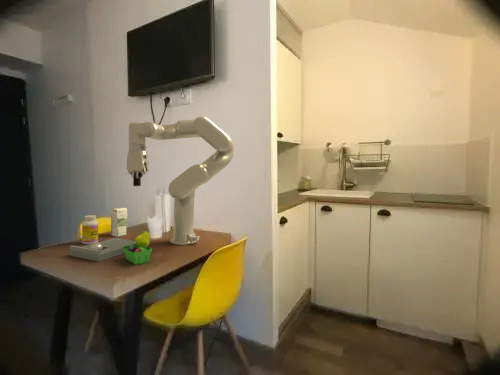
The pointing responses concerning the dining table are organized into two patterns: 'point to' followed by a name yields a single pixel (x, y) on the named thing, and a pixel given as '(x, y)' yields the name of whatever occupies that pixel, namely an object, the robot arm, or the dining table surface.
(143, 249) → the fruit basket
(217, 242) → the dining table surface
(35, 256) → the dining table surface
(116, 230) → the syrup box
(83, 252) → the board
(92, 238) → the supplement bottle
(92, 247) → the ball
